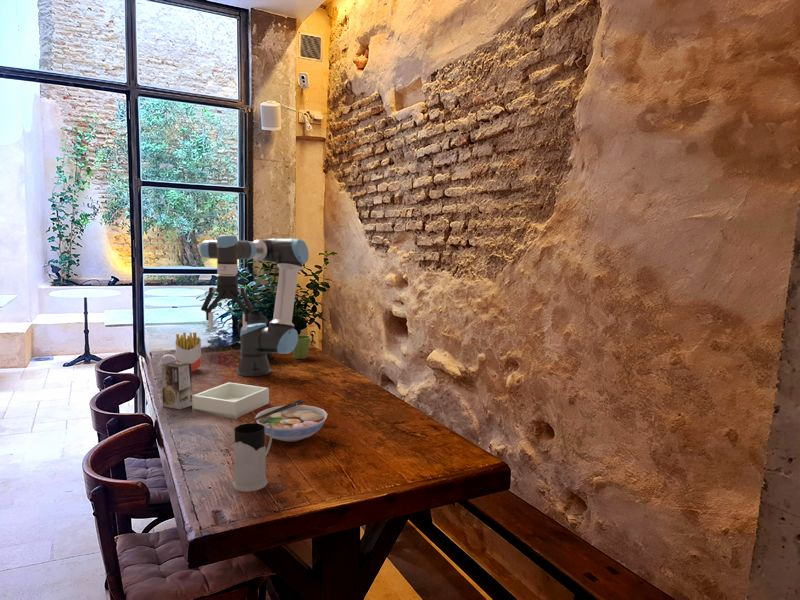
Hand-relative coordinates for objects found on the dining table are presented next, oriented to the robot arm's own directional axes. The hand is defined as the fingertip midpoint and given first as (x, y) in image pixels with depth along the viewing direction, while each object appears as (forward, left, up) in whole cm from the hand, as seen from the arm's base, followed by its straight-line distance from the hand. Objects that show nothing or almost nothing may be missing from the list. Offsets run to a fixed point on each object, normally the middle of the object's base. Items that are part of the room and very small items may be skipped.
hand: (227, 329), depth 209 cm
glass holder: (+54, -55, -28) cm, 82 cm away
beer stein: (-35, +62, -28) cm, 77 cm away
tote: (+8, -9, -28) cm, 30 cm away
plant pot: (-14, +74, -28) cm, 81 cm away
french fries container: (-46, +27, -28) cm, 60 cm away
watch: (-43, +11, -28) cm, 52 cm away
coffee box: (-11, -16, -28) cm, 34 cm away
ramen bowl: (+46, -26, -28) cm, 60 cm away
